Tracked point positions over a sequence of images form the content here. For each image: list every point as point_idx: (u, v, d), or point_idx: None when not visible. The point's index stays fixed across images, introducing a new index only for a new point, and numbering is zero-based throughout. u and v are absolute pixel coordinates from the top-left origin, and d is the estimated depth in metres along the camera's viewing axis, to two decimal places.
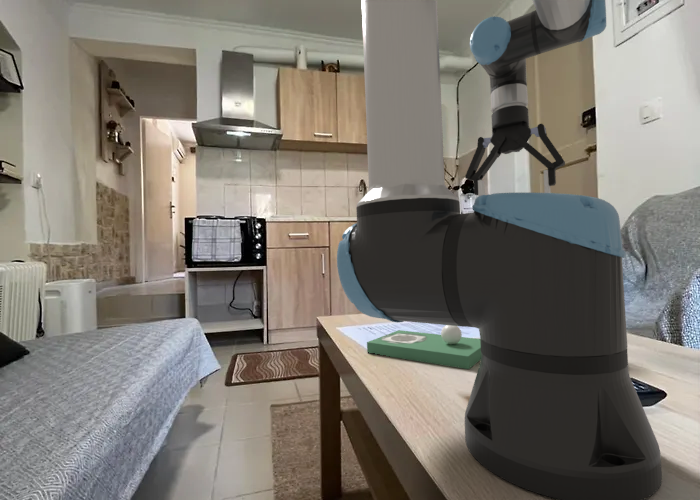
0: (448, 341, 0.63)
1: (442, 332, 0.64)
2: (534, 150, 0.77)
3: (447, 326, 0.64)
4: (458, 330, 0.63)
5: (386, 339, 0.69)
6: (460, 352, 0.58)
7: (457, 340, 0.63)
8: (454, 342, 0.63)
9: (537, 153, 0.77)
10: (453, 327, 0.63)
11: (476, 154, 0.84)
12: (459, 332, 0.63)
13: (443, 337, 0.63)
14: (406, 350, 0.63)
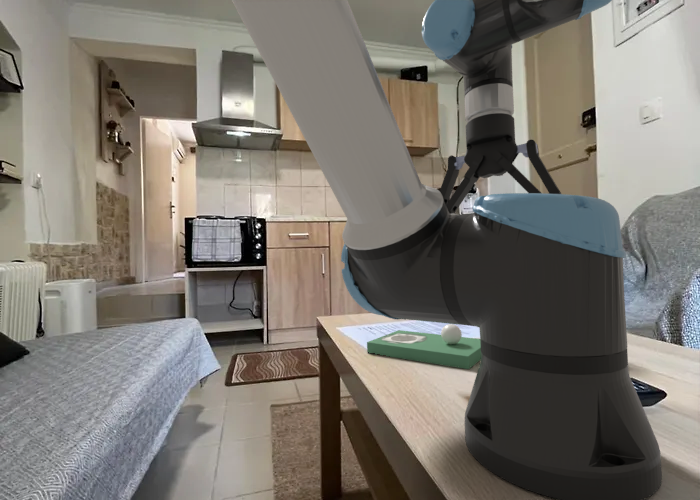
0: (448, 341, 0.63)
1: (442, 332, 0.64)
2: (521, 177, 0.56)
3: (447, 326, 0.64)
4: (458, 330, 0.63)
5: (386, 339, 0.69)
6: (460, 352, 0.58)
7: (457, 340, 0.63)
8: (454, 342, 0.63)
9: (524, 181, 0.56)
10: (453, 327, 0.63)
11: (446, 178, 0.63)
12: (459, 332, 0.63)
13: (443, 337, 0.63)
14: (406, 350, 0.63)
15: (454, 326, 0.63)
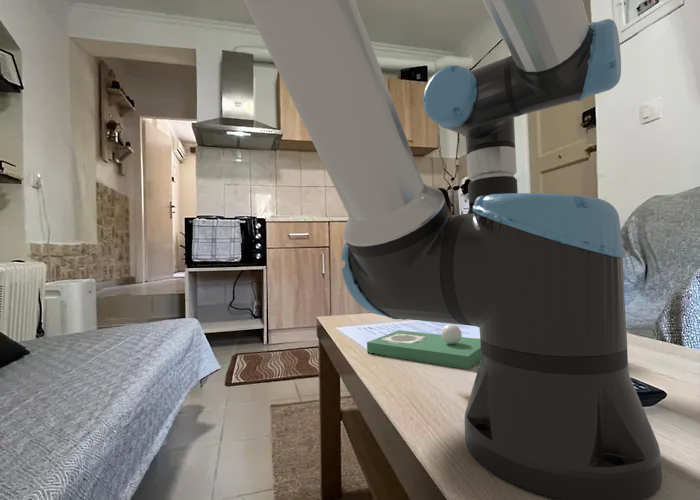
0: (448, 341, 0.63)
1: (442, 332, 0.64)
2: None
3: (447, 326, 0.64)
4: (458, 330, 0.63)
5: (386, 339, 0.69)
6: (460, 352, 0.58)
7: (457, 340, 0.63)
8: (454, 342, 0.63)
9: None
10: (453, 327, 0.63)
11: None
12: (459, 332, 0.63)
13: (443, 337, 0.63)
14: (406, 350, 0.63)
15: (454, 326, 0.63)
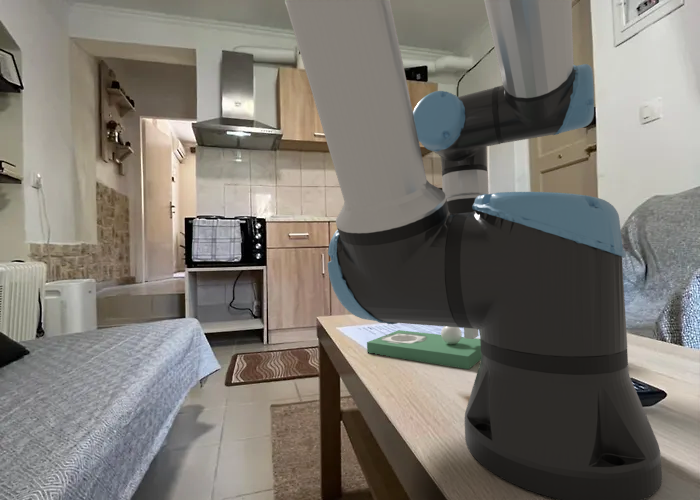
0: (448, 341, 0.63)
1: (442, 332, 0.64)
2: None
3: None
4: (458, 330, 0.63)
5: (386, 339, 0.69)
6: (460, 352, 0.58)
7: (457, 340, 0.63)
8: (454, 342, 0.63)
9: None
10: (453, 327, 0.63)
11: None
12: (459, 332, 0.63)
13: (443, 337, 0.63)
14: (406, 350, 0.63)
15: None
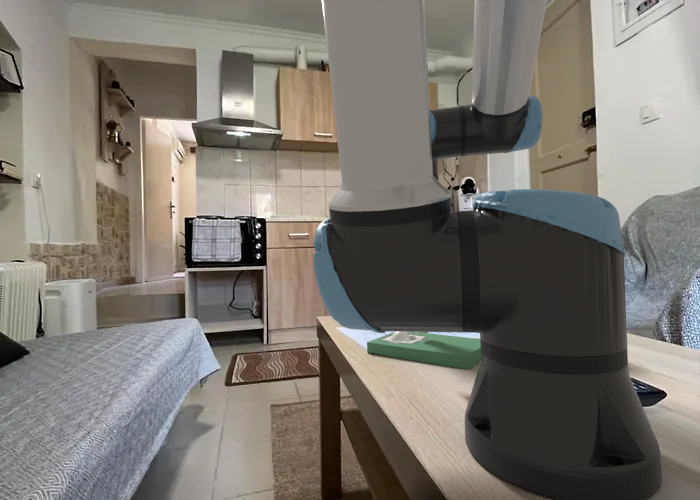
0: None
1: None
2: None
3: (398, 336, 0.69)
4: (407, 337, 0.69)
5: (386, 339, 0.69)
6: (460, 352, 0.58)
7: None
8: None
9: None
10: (403, 336, 0.69)
11: None
12: (408, 339, 0.69)
13: None
14: (406, 350, 0.63)
15: (404, 335, 0.69)
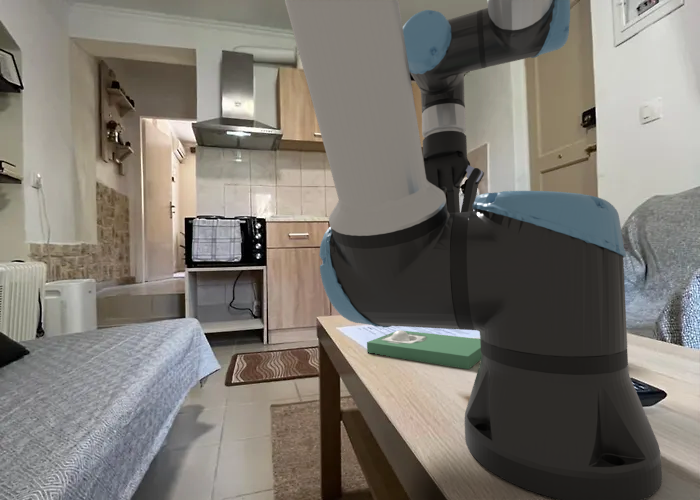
0: None
1: None
2: (452, 200, 0.62)
3: (397, 338, 0.68)
4: (407, 339, 0.69)
5: (386, 339, 0.69)
6: (460, 352, 0.58)
7: None
8: None
9: (452, 204, 0.62)
10: (403, 338, 0.68)
11: None
12: (408, 340, 0.69)
13: None
14: (406, 350, 0.63)
15: (403, 336, 0.68)
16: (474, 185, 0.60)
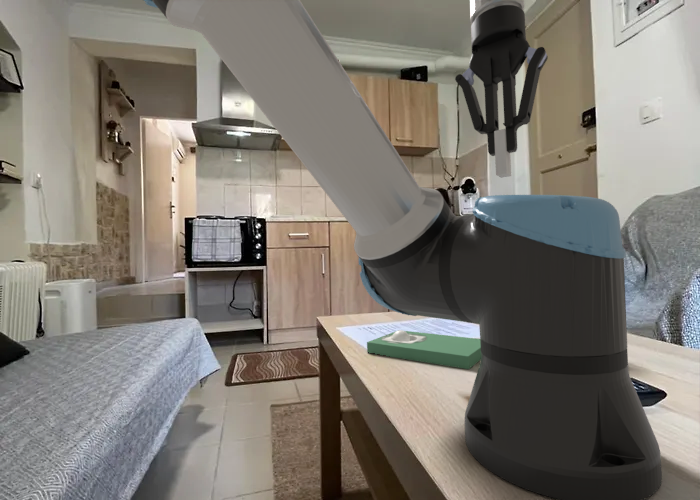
0: None
1: None
2: (509, 90, 0.52)
3: (398, 338, 0.68)
4: (407, 339, 0.69)
5: (386, 339, 0.69)
6: (460, 352, 0.58)
7: None
8: None
9: (509, 96, 0.52)
10: (403, 338, 0.68)
11: (467, 95, 0.56)
12: (408, 340, 0.69)
13: None
14: (406, 350, 0.63)
15: (404, 337, 0.68)
16: (537, 69, 0.51)
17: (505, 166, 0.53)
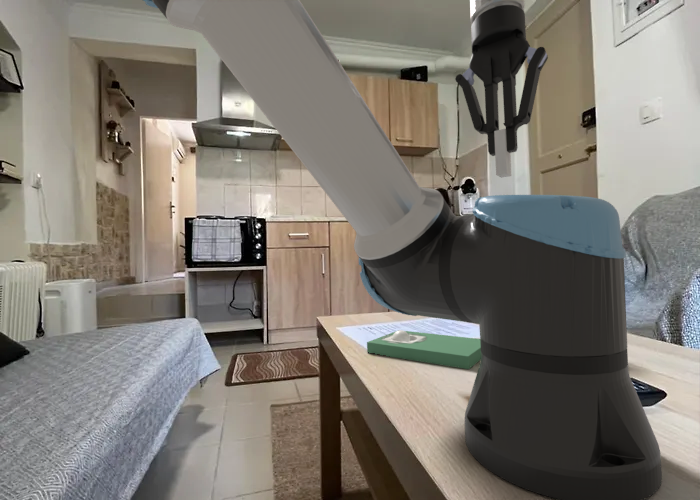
0: None
1: None
2: (509, 90, 0.52)
3: (398, 338, 0.68)
4: (408, 339, 0.69)
5: (386, 339, 0.69)
6: (460, 352, 0.58)
7: None
8: None
9: (509, 96, 0.52)
10: (404, 339, 0.68)
11: (468, 95, 0.56)
12: (409, 340, 0.69)
13: None
14: (406, 350, 0.63)
15: (404, 337, 0.68)
16: (537, 69, 0.51)
17: (505, 166, 0.53)
